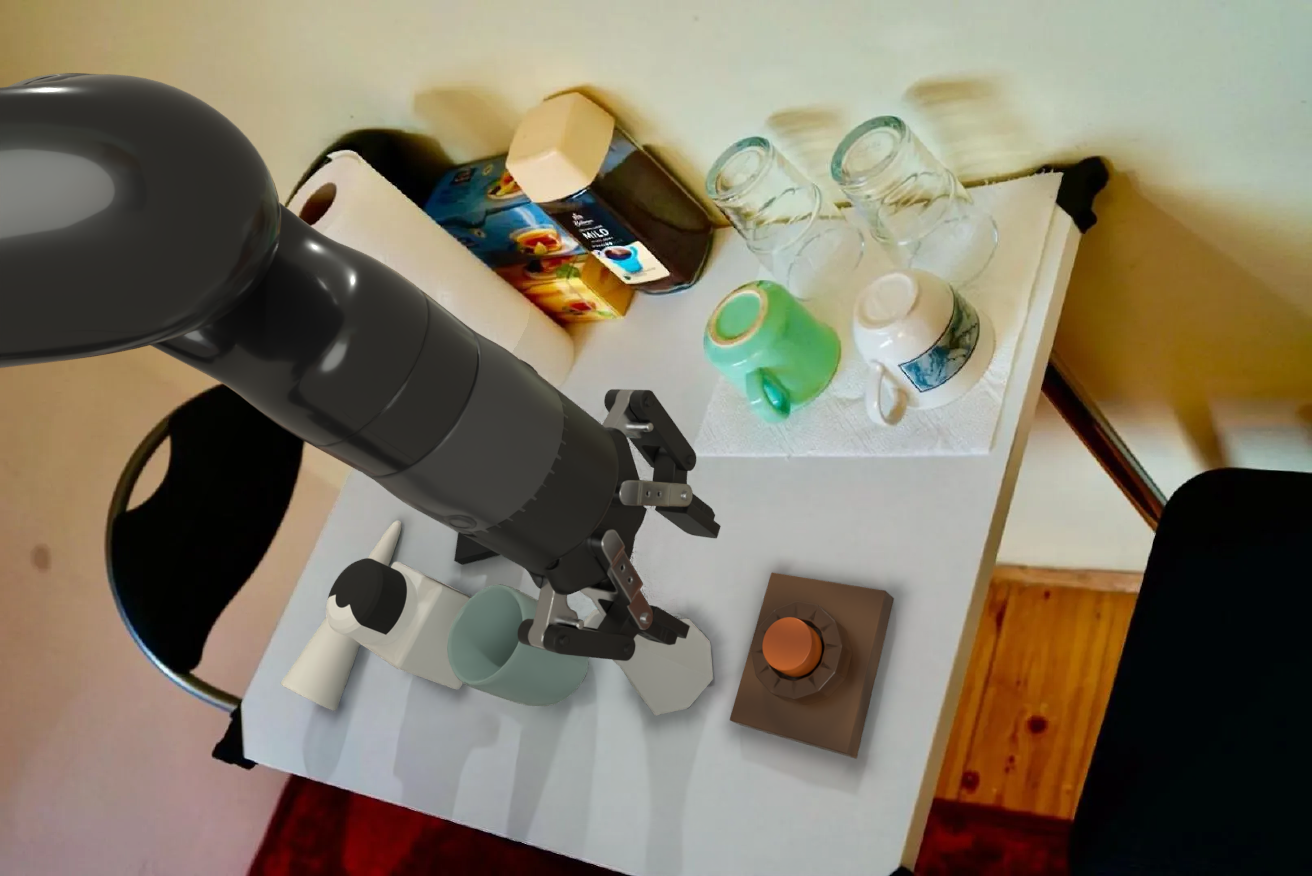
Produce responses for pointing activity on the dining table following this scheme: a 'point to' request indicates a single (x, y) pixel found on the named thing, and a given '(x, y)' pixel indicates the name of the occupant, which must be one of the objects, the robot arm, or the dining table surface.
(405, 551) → the dining table surface
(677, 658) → the flask
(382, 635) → the container
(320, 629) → the long cone
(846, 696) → the brown button mount
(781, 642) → the button
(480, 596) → the cup
